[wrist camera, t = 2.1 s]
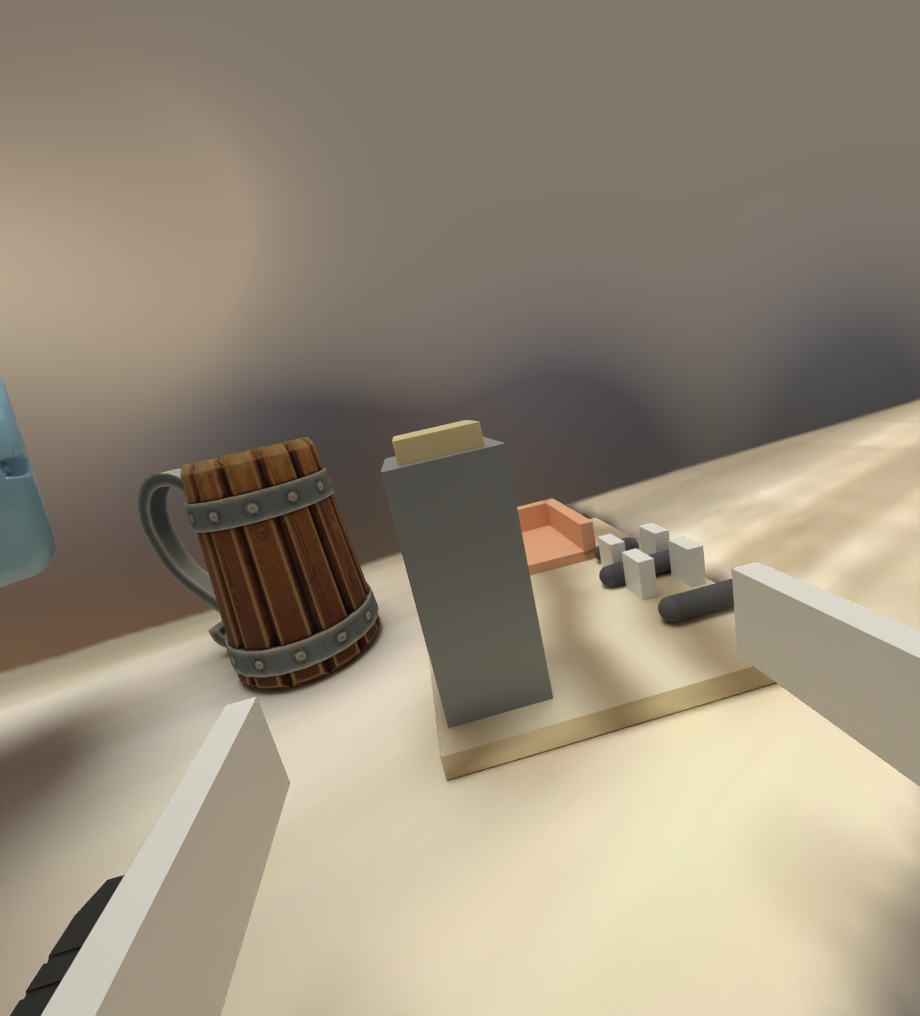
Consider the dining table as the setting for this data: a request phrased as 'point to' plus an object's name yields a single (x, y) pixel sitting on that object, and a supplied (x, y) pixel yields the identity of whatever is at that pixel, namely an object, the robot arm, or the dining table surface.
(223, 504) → the mug
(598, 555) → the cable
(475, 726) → the board
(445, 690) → the grey tall block
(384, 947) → the dining table surface
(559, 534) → the end holder
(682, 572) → the cable clips
